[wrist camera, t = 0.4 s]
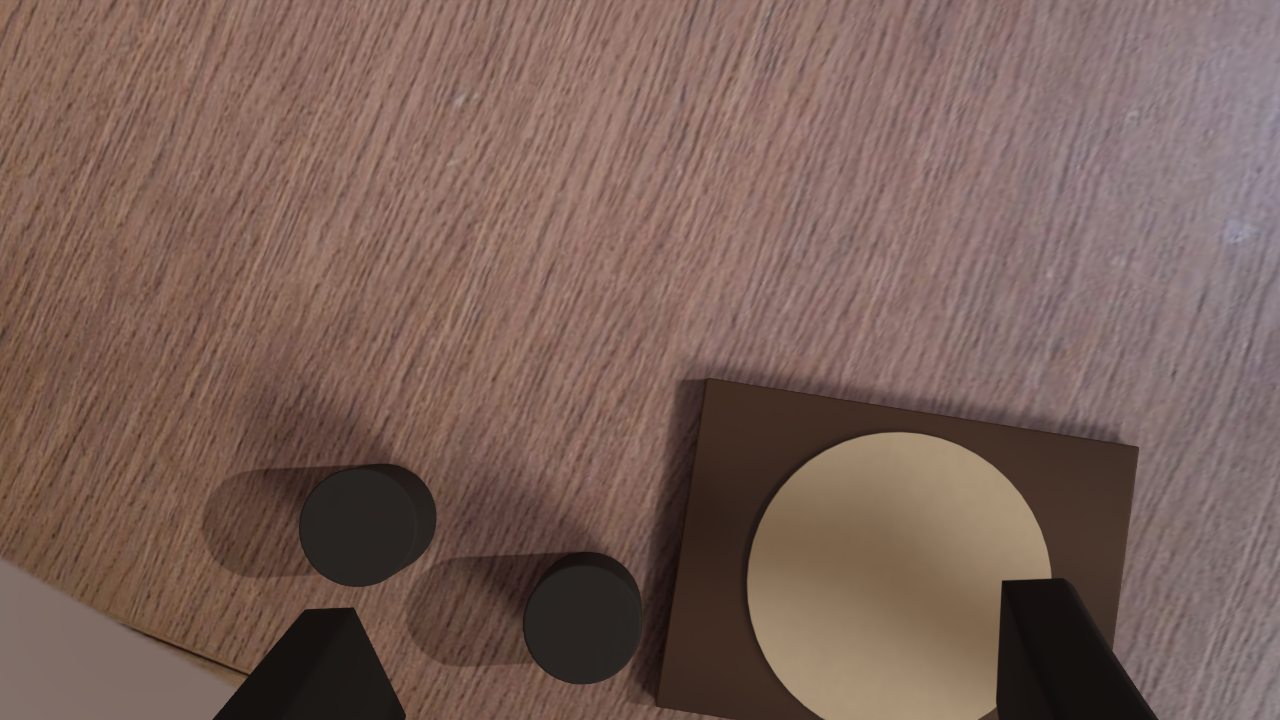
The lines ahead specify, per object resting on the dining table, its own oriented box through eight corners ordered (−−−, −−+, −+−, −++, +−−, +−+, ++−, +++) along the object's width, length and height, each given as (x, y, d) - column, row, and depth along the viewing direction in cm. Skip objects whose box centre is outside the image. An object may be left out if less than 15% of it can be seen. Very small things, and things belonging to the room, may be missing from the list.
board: (1087, 771, 38) (1098, 780, 37) (654, 700, 39) (655, 708, 38) (1129, 446, 39) (1142, 447, 38) (705, 378, 39) (707, 377, 38)
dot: (632, 669, 39) (631, 694, 35) (524, 652, 39) (513, 674, 35) (649, 560, 39) (650, 574, 35) (542, 543, 39) (533, 555, 35)
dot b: (426, 580, 39) (406, 596, 35) (320, 562, 39) (288, 576, 35) (445, 472, 39) (426, 477, 36) (339, 455, 39) (309, 458, 36)
